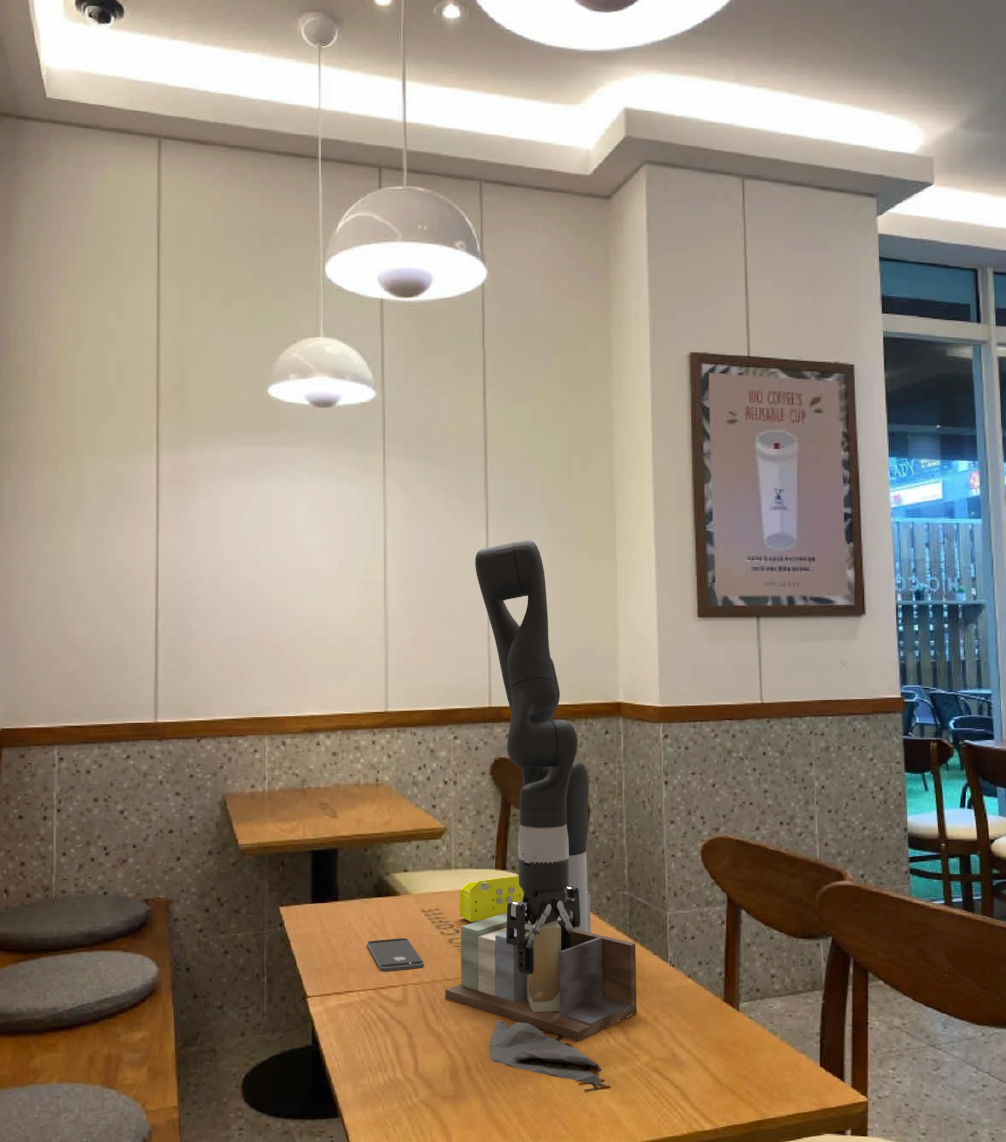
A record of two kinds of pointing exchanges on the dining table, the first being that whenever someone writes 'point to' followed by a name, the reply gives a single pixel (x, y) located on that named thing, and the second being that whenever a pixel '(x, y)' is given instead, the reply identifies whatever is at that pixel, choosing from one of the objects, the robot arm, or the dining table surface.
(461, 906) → the yellow toy chassis
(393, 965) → the phone
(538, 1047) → the cloth
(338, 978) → the dining table surface
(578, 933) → the book shelf
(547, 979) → the skincare box
